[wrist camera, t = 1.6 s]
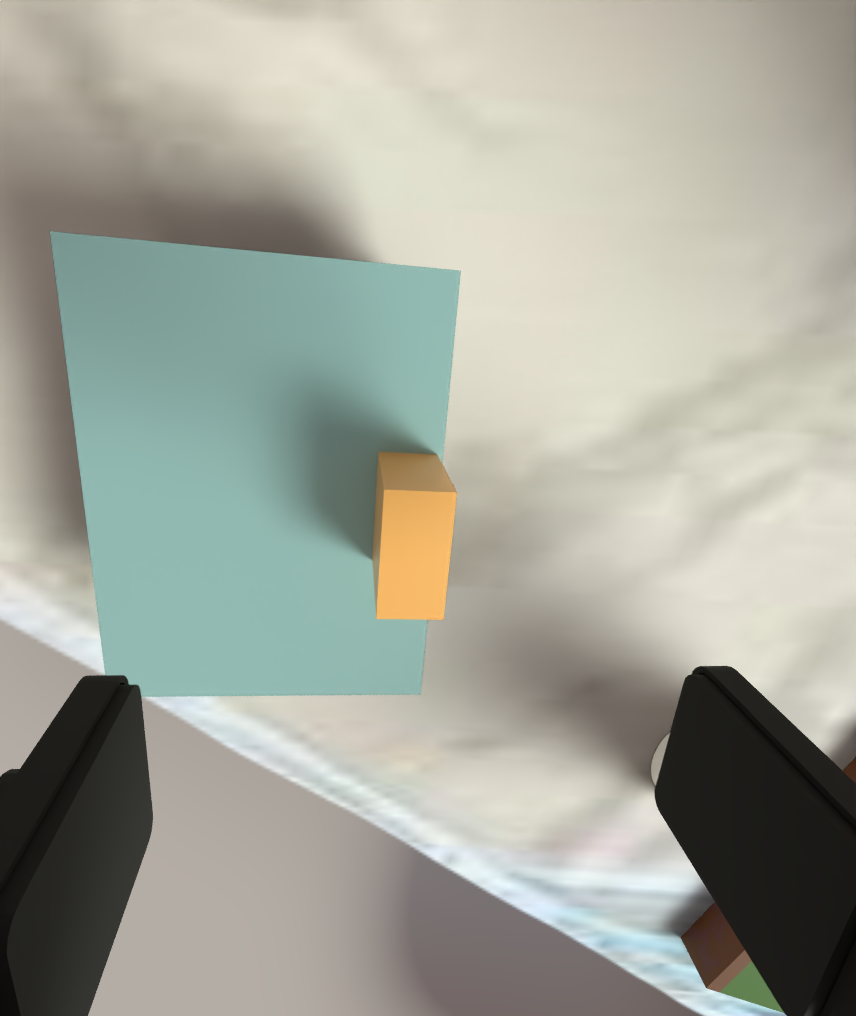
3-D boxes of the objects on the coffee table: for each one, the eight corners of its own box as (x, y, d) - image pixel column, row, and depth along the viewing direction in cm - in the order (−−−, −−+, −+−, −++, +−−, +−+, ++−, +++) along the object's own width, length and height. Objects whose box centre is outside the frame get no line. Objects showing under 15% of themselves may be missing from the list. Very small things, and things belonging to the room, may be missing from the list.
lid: (452, 272, 19) (488, 265, 14) (416, 669, 24) (433, 772, 19) (75, 236, 18) (-42, 212, 12) (124, 670, 23) (56, 782, 18)
